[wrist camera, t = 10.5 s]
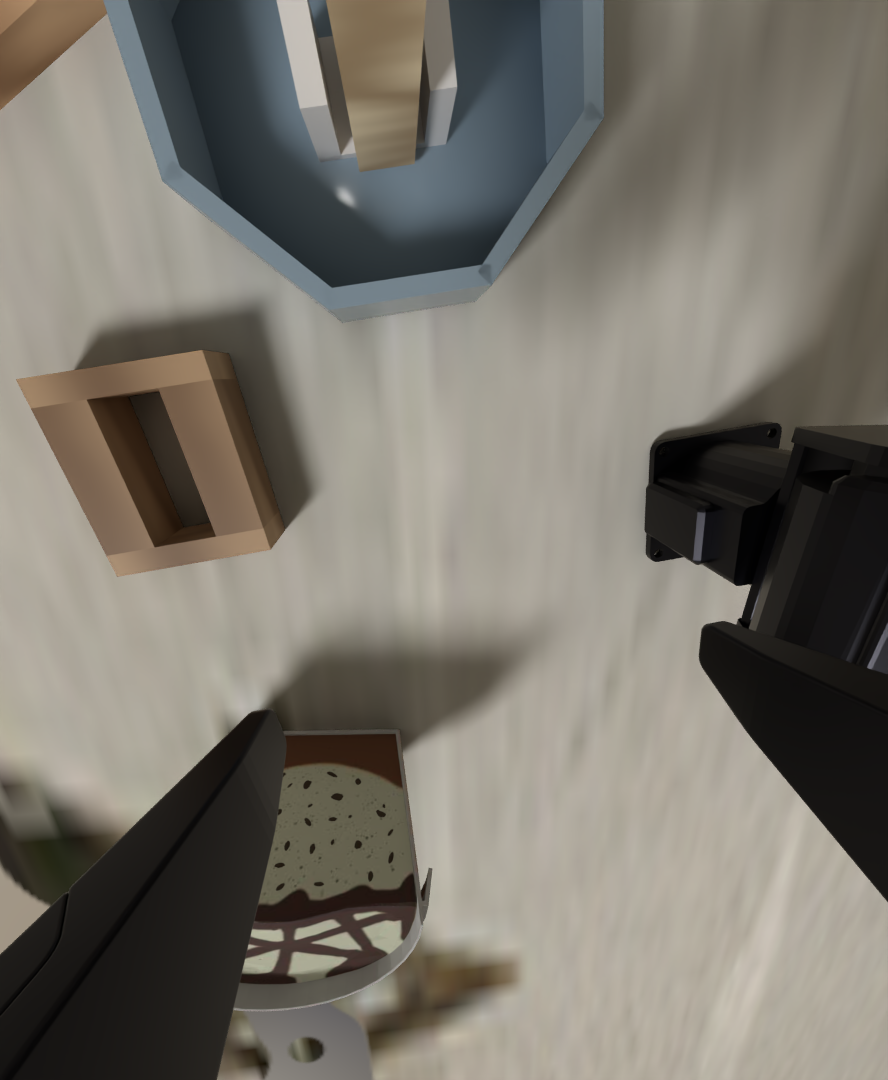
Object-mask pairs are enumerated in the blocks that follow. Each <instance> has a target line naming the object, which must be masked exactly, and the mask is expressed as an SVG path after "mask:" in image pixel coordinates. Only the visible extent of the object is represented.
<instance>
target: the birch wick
mask: <svg viewBox="0 0 888 1080" xmlns="http://www.w3.org/2000/svg"><path fill="white" fill-rule="evenodd" d="M326 3H327V8H328V13H329V18H330V24H331V29H332V34H333V39H334V44H335V49H336V54H337V59H338V64H339V70H340V75H341V80H342V85H343V90H344V95H345V100H346V105H347V110H348V116H349V121H350V126H351V131H352V136H353V141H354V146H355V151H356V156H357V162H358V167H359V172H364V171H371V170H377V169H384V168H391V167H398V166H404V165H411V164H415V151H416V137H417V123H418V109H419V95H420V81H421V67H422V52H423V38H424V24H425V10H426V0H326Z"/></svg>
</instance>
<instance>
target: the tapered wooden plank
mask: <svg viewBox="0 0 888 1080" xmlns="http://www.w3.org/2000/svg"><path fill="white" fill-rule="evenodd" d="M106 14H107V10H106V7H105V4H104V1H103V0H0V110H1V109H2V108H3V107H4V106H5V105H6V104H7V103H9V102H10V101H11V100H12V99H13V98H14V97H15V96H16V95H17V94H19V93H20V92H21V91H22V90H23V89H24V88H25V87H26V86H27V85H28V84H30V83H31V82H32V81H33V80H34V79H35V78H36V77H37V76H38V75H40V74H41V73H42V72H43V71H44V70H45V69H46V68H47V67H48V66H49V65H51V64H52V63H53V62H54V61H55V60H56V59H57V58H58V57H59V56H61V55H62V54H63V53H64V52H65V51H66V50H67V49H68V48H69V47H70V46H72V45H73V44H74V43H75V42H76V41H77V40H78V39H79V38H80V37H82V36H83V35H84V34H85V33H86V32H87V31H88V30H89V29H90V28H91V27H93V26H94V25H95V24H96V23H97V22H98V21H99V20H100V19H101V18H103V17H104V16H105V15H106Z"/></svg>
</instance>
